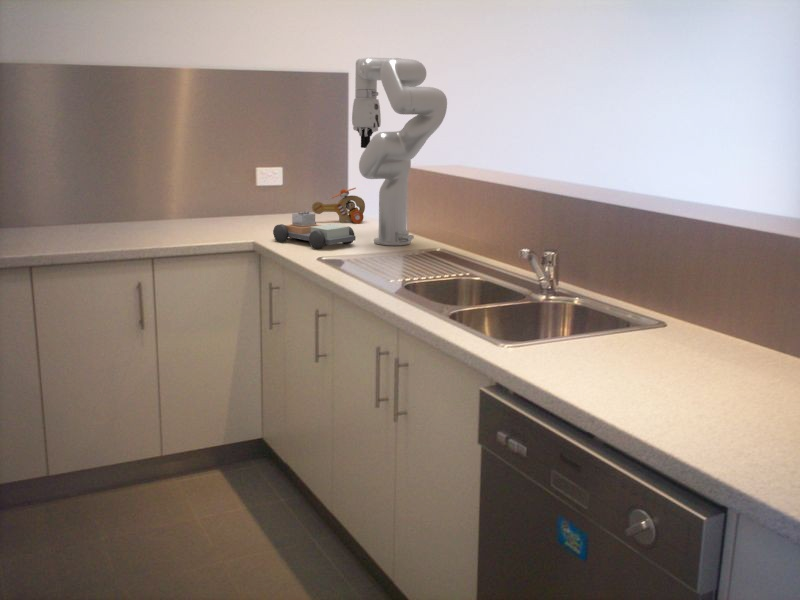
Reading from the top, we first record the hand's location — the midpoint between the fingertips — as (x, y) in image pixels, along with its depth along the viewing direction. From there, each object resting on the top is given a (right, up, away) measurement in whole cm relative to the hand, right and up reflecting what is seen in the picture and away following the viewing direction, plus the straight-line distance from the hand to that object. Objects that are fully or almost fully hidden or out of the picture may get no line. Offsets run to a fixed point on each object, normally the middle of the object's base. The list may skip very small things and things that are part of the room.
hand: (365, 147), depth 314 cm
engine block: (-21, -31, -12) cm, 39 cm away
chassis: (-17, -35, -14) cm, 42 cm away
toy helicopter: (-11, -24, +32) cm, 42 cm away
